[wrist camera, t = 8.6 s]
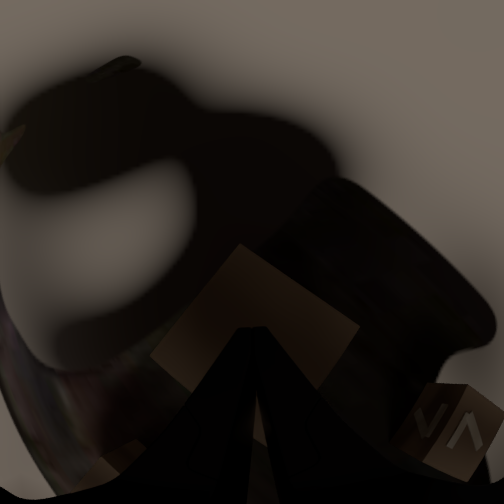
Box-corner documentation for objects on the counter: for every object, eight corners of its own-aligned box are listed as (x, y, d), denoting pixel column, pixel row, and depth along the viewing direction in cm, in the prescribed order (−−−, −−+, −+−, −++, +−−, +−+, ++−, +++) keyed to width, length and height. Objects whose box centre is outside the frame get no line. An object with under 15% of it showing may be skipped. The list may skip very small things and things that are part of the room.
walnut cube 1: (156, 517, 13) (130, 548, 8) (103, 473, 14) (66, 493, 10) (193, 483, 14) (172, 516, 10) (135, 437, 16) (99, 455, 11)
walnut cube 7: (430, 464, 14) (467, 482, 9) (387, 441, 15) (421, 461, 10) (465, 408, 15) (507, 413, 10) (425, 381, 16) (468, 383, 11)
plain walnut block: (267, 414, 16) (269, 448, 9) (193, 358, 18) (149, 355, 11) (323, 339, 18) (359, 326, 11) (249, 286, 19) (239, 243, 12)
